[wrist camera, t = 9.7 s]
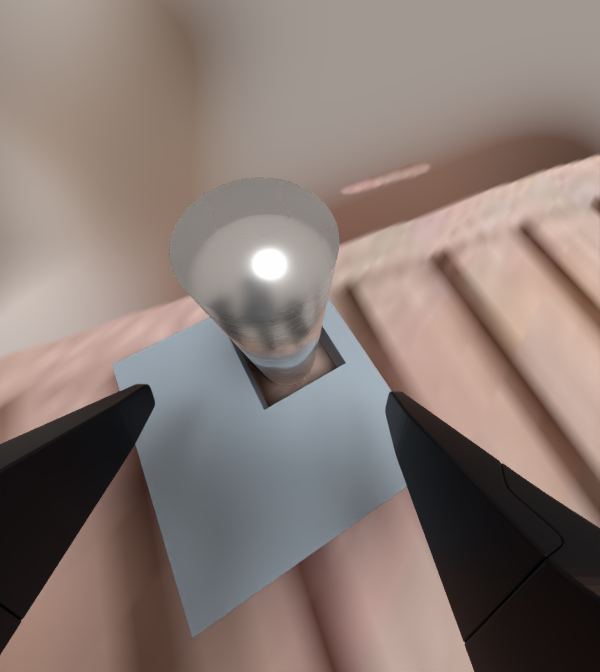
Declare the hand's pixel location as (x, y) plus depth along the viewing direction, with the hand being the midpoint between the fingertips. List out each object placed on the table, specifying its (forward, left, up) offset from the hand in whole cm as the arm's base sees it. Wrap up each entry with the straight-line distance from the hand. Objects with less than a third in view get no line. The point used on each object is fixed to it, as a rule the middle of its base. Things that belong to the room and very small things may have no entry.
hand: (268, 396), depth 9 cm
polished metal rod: (+3, -2, -9) cm, 10 cm away
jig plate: (0, +1, -9) cm, 9 cm away
